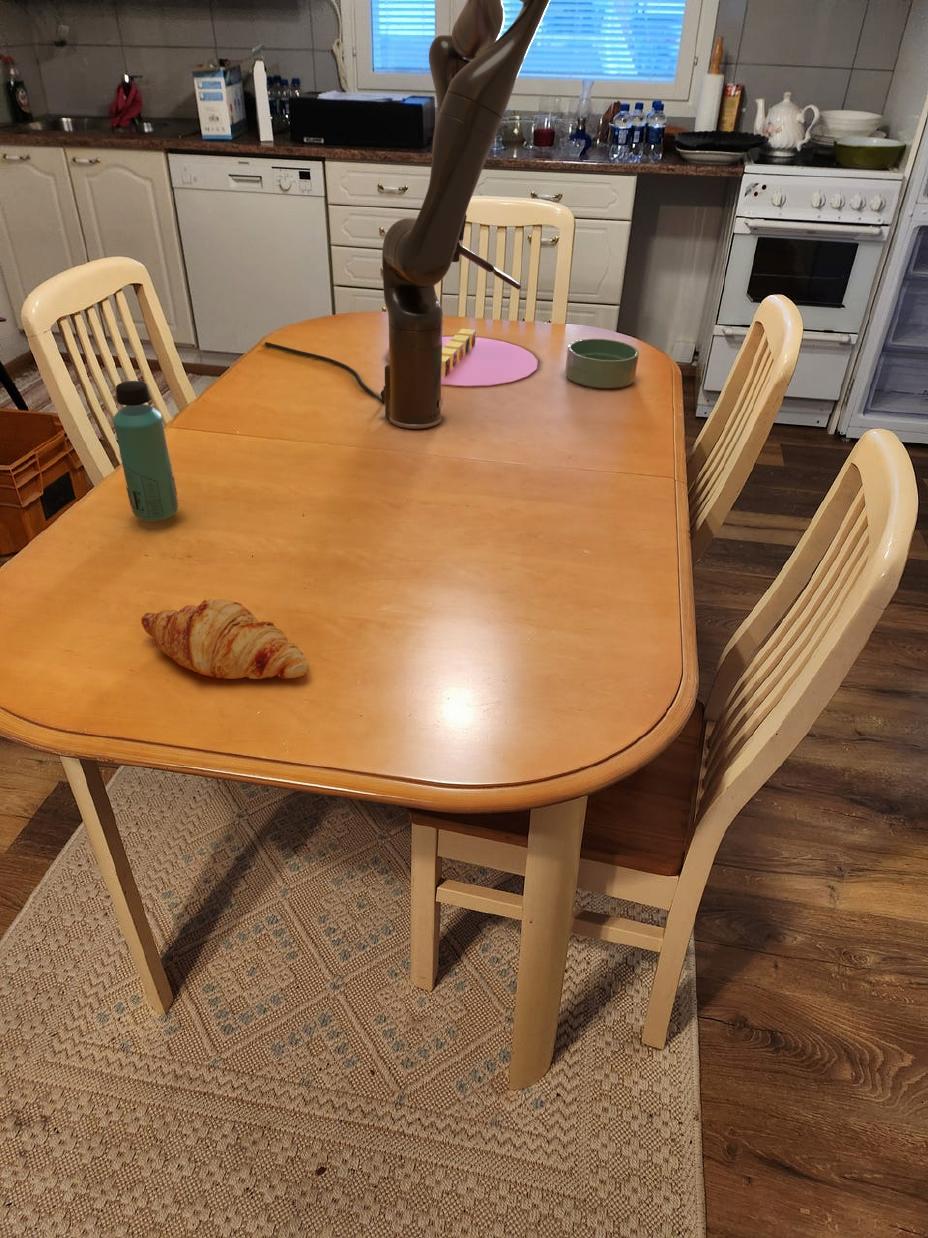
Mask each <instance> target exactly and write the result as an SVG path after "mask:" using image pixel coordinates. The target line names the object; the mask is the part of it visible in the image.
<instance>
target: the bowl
mask: <svg viewBox="0 0 928 1238" xmlns="http://www.w3.org/2000/svg"><path fill="white" fill-rule="evenodd" d="M566 352H567V353H566V360H565V361H566V362H565V372H564V373H565V376H566V378H568V379H569V380H570V381H572V382H575V383H577V384H579V385H581V386H585V387H588V388H589V387H590V388H593V389H616V388H622V387H626V386H629V385H631V384H633V383H634V382H635V380H636V376H637V375H636V374H637V370H638V362H639V356H640V352H639V350H638V348H636V347H635V346H633V345H632V344H629V343H626V342H623V341H619V340H614V339H607V338H583V339H578V340H574V341H573V342H571V343H569V344H568V346H567V351H566Z"/></svg>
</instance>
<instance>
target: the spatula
mask: <svg viewBox="0 0 928 1238" xmlns="http://www.w3.org/2000/svg"><path fill="white" fill-rule="evenodd" d="M460 255H462V256H463V257H464V258H466V259H467V260H469V261H470V262H472V263H474V264H475V265H477V266H478V267H480V268H482V269H483V270H484V271H486V272H488V273H492V274H493V275H494V276H495V277H497V278H499V279H500V280H502V281H503V282H505V283H507V284H508V285H510V286H512V287H513V288H515V289H516V290H518V291H520V289H521V288H522V285H521V284H520V283H519V282H518V281H517V280H515V279H514V278H513V277H511V276H510V275H508V274H506V273H505V272H503V271H501V270H499V269H498V268H497V267H496V266H494V265H493V264H491V263H490V262H489V261H487V260H486V259H484V258H483V257H481V256H479V255H477V254H476V253H474V252H473V251H472V250H469V249H468V248H466V247H465V246H463V245H462V244H460Z"/></svg>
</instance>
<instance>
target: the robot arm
mask: <svg viewBox="0 0 928 1238" xmlns="http://www.w3.org/2000/svg"><path fill="white" fill-rule="evenodd" d="M519 1H520V3H522V6H521V9H520V12H519V13H518V16H516V18H515V19H514V21H513V23H512V24H511V25H510V26H509V27H508V28H507V30H506V31H505V32H504V33H503V34H502V35H501V33H502V31H503V28H504V23H505V9H504V5H503V0H466V2H465V4H464V6H463V7H462V10H461V12H460V14H459V15H458V17H457V19H456V21H455V23H454V25H453V27H452V30H451V34H449V35H445V34H441V35H437V36H436V37H435V38H434V39H433V41H432V43H431V44H430V46H429V51H428V64H429V70H430V74H431V79H432V82H433V86H434V92H435V98H436V104H437V105H436V106H437V117H436V121H435V125H434V129H433V130H434V131H433V136H432V146H431V165H430V178H429V184H428V187H427V191H426V193H425V198H424V199H423V203H422V205H421V208H420V209H419V212H418V215H417V217H416V218H411V217H409V218H408V217H407V218H401V219H400V220H397V221H395V222H394V223H393V224H392V225H391V226H390V227H389V228H388V230H387V232H386V234H385V236H384V239H383V243H382V252H381V253H382V254H381V264H382V265H381V266H382V269H381V270H382V287H383V299H384V305H385V308H386V311H387V315H388V317H387V319H388V357H389V358H388V364H387V365H385V366H384V386H383V389H382V390H381V391H380V396H378V395H377V394H376V393H374V391H372V390H371V389H370V388H369V387H368V386H367V385H366V384H365V383H364V382H363V381H362V379H361V377H360V374H359V373H358V372H357V371H356V370H355V369H353V368H352V367H350V366H349V365H346V364H345V363H343V362H340V361H338V360H335V359H333V358H329V357H327V356H324V355H320V354H316V353H312V352H308V351H307V352H306V351H302V350H299V349H294V348H290V347H286V346H283V345H279V344H275V343H271V342H268V341H265V342H264V346H266V347H270V348H273V349H277V350H281V351H285V352H289V353H292V354H296V355H300V356H305V357H309V358H312V359H313V358H314V359H317V360H321V361H324V362H327V363H330V364H334V365H336V366H338V367H340V368H343V369H345V370H346V371H348V372H349V373H351V374H352V375H353V376H354V377H355V379H356V381H357V383H358V385H360V387H361V388H362V389H363V390H364V391H365V392H366V393H367V394H368V395H370V396H371V397H373V398H375V399H377V400H378V401H380V402H381V403H384V411H385V412H384V418H385V419H388V420H389V422H390V423H391V424H392V425H394V426H396V427H400V428H403V429H409V430H424V429H430V428H432V427H435V426H437V425H440V423H441V422H442V405H443V402H444V398H443V396H442V385H441V379H442V337H443V329H444V328H443V325H444V323H443V322H444V310H443V307H442V305H441V303H440V301H439V299H438V297H437V293H436V289H435V286H436V285H437V284H439V283H440V282H441V281H443V279H444V277H446V275H447V273H448V272H449V270H450V268H451V265H452V263H458V262H460V255H461V254H460V245H461V242H462V241H463V240H464V238H465V237H464V235H465V229H466V223H467V217H468V216H467V212H468V208H469V206H470V205H469V204H470V202H471V200H472V197H473V194H474V192H475V189H476V187H477V184H478V182H479V179H480V176H481V174H482V171H483V168H484V166H485V163H486V161H487V158H488V155H489V153H490V151H491V148H492V146H493V144H494V141H495V139H496V137H497V134H498V132H499V129H500V126H501V123H502V120H503V119H504V115H505V113H506V110H507V107H508V105H509V101H510V99H511V96H512V93H513V90H514V87H515V85H516V83H517V80H518V77H519V73H520V71H521V68H522V65H523V63H524V61H525V59H526V56H527V53H528V51H529V49H530V46H531V44H532V42H533V40H534V38H535V36H536V33H537V31H538V29H539V26H540V25H541V22H542V20H543V18H544V15H545V13H546V10H547V9H548V6H549V5H550V4H549V3H550V1H551V0H519ZM500 35H501V36H500Z"/></svg>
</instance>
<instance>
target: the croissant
mask: <svg viewBox="0 0 928 1238" xmlns="http://www.w3.org/2000/svg"><path fill="white" fill-rule="evenodd" d="M140 622H141V626H142V627H143V630H144V631H145V633H147V634H148V635H149V636H151V637H152V638H153V640H154V642H155V644H156V645H155V646H157V648H158V649H159V650H160V651H161V652H163V654H165V655H167V656H168V657H169V658H171V659H172V660H173V661H174V662H175V663H177V664H178V665H179V666H181V667H182V668H183V667H184V668H185V669H187V670H190V671H192V672H194V673H195V672H196V673H198V674H199V675H203V676H208V677H211V678H215V679H231V680H232V679H243V678H248V680H249V679H250V680H262V679H266V678H270V679H271V678H273V677H274V676H275V677H278V678H281V679H295V678H300V677H303V676H304V675H306V674H308V672H309V671H310V664H309V662H307V659H306V657H305V656H304V653H303V651H301V649H300V647H299V646H298V644H296V643H294V642H293V643H292V642H290V641H289V640H288V637H287V636H286V634H285V633H284V632H283V630H282V629H280V628H278V627H276V625H275V624H274V622H272V621H259V619H258V618H257V617H256V616H254V614H253V612H251V610H249V609H248V608H246V607H245V606H243V605H242V603H241V602H238V601H234V600H230V599H229V600H227V599H222V598H217V599H216V598H215V599H211V598H209V599H207V600H206V599H204V600H202V601H201V603H200V604H199V605H198V606H197V605H193V604H189V605H186V606H184V607H182V608H181V609H179V611H178V610H175V609H165V610H164V609H163V610H161V611H159V612H157V613H153V612H146V613H145V614H144V615H143V616H141V621H140Z"/></svg>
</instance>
